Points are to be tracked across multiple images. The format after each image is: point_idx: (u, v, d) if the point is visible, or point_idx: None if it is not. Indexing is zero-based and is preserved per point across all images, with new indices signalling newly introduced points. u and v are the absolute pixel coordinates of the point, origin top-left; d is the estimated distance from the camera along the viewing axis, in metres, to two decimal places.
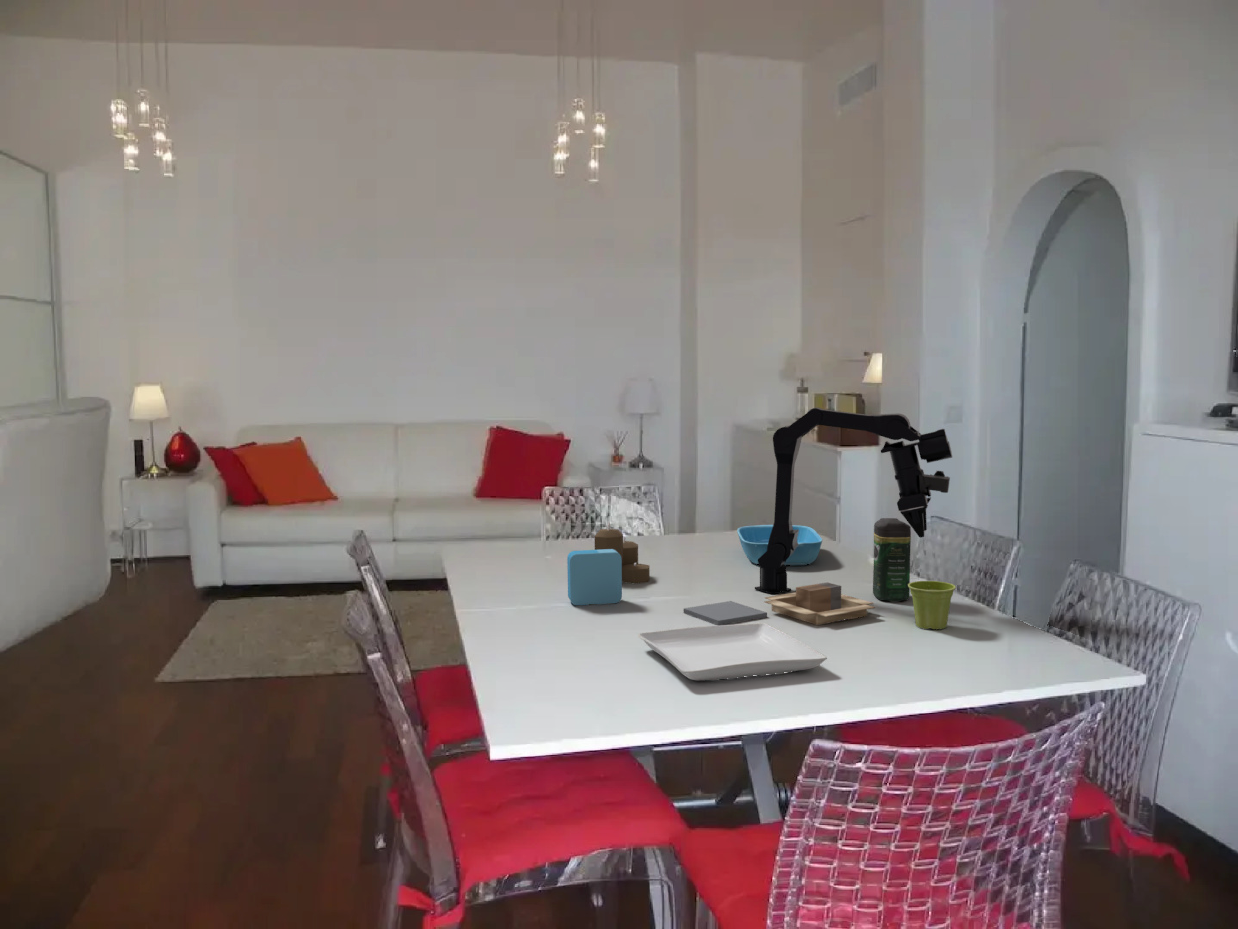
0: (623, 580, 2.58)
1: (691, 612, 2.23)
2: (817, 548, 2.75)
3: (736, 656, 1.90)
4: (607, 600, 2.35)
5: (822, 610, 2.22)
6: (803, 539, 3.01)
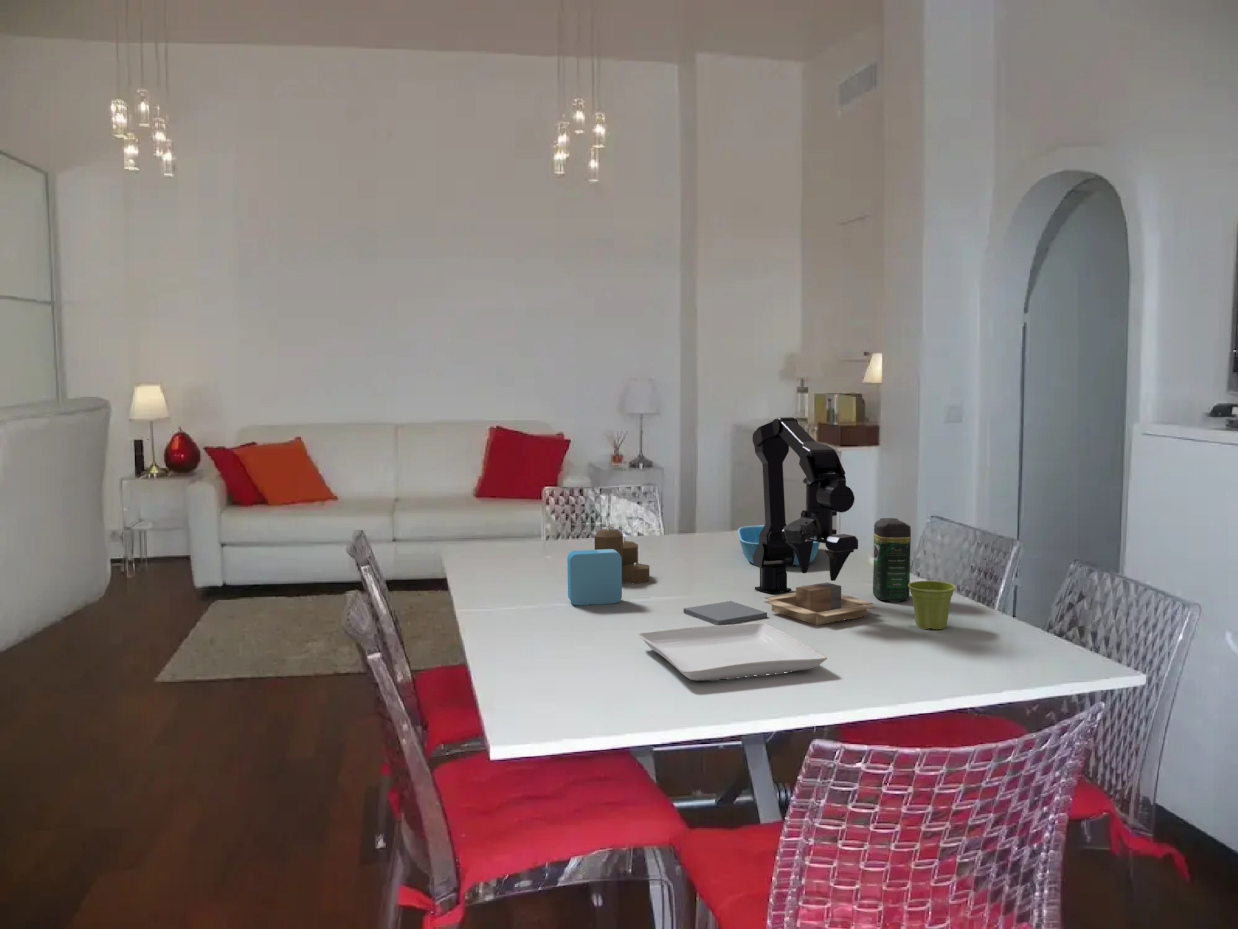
0: (623, 580, 2.58)
1: (691, 612, 2.23)
2: (815, 548, 2.75)
3: (736, 656, 1.90)
4: (607, 600, 2.35)
5: (822, 610, 2.22)
6: None
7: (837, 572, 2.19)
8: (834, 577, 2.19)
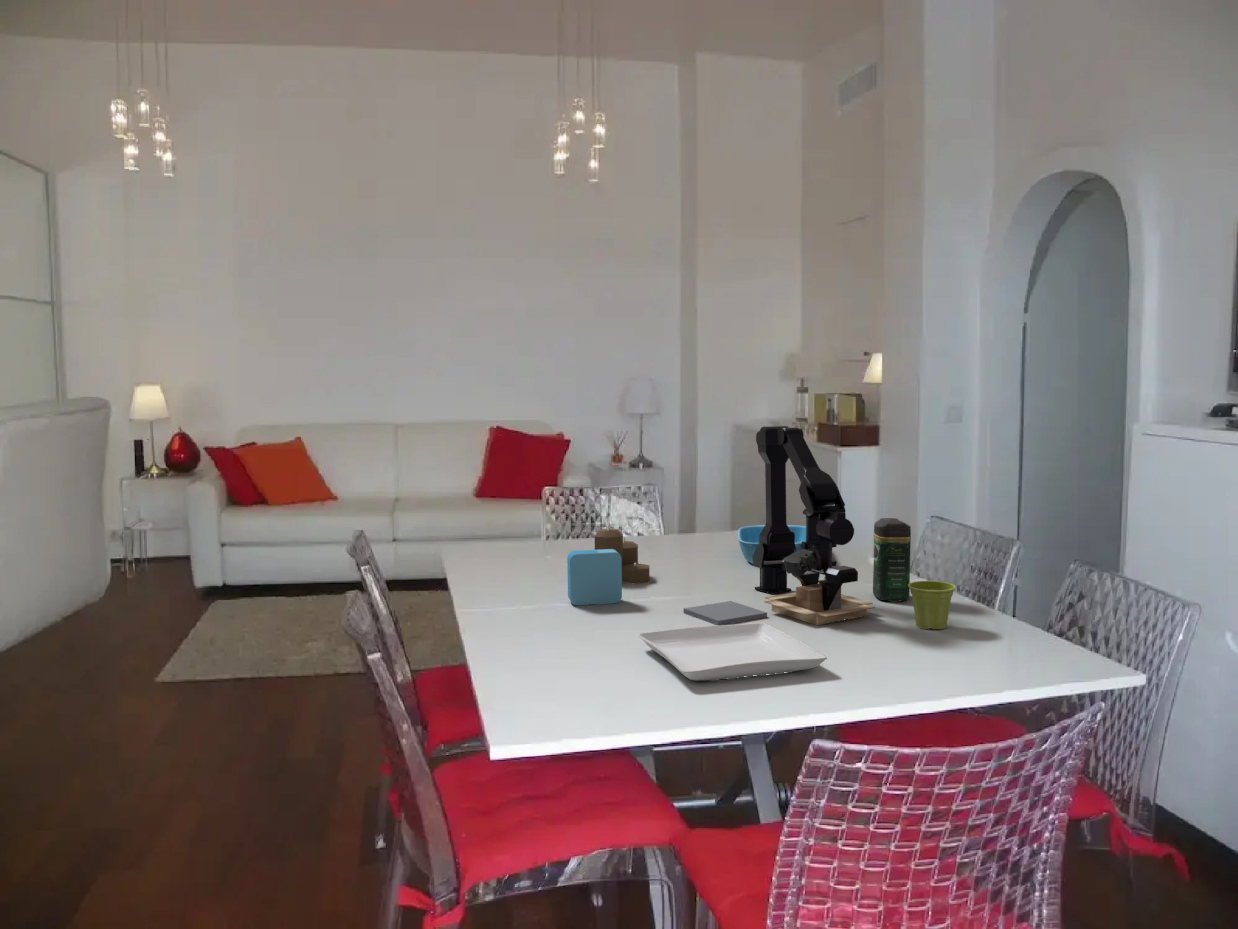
0: (623, 580, 2.58)
1: (691, 612, 2.23)
2: None
3: (736, 656, 1.90)
4: (607, 600, 2.35)
5: (822, 609, 2.22)
6: (805, 539, 3.00)
7: (830, 602, 2.22)
8: (827, 607, 2.22)
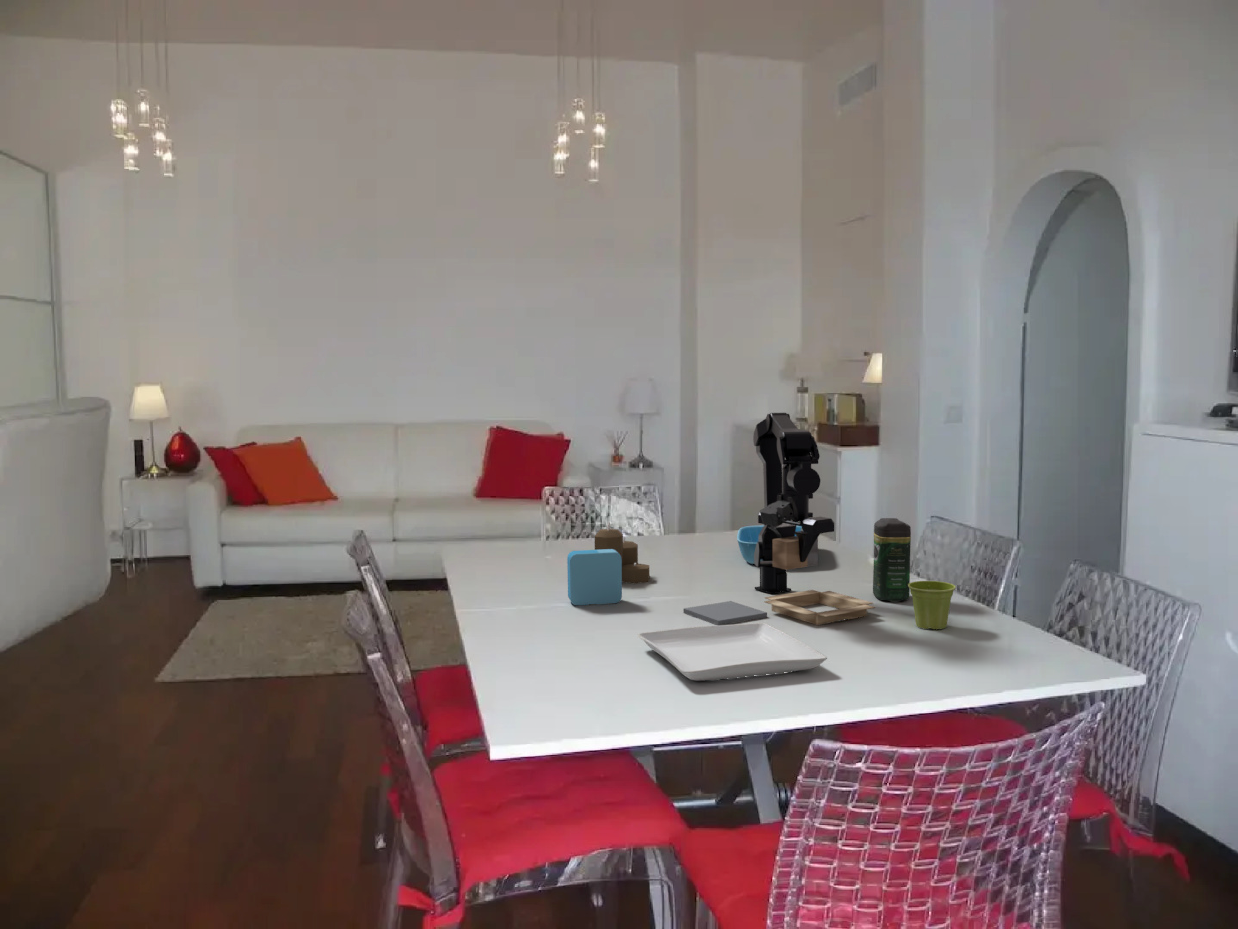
0: (623, 580, 2.58)
1: (691, 612, 2.23)
2: None
3: (736, 656, 1.90)
4: (607, 600, 2.35)
5: (799, 561, 2.20)
6: None
7: (807, 553, 2.20)
8: (804, 558, 2.20)
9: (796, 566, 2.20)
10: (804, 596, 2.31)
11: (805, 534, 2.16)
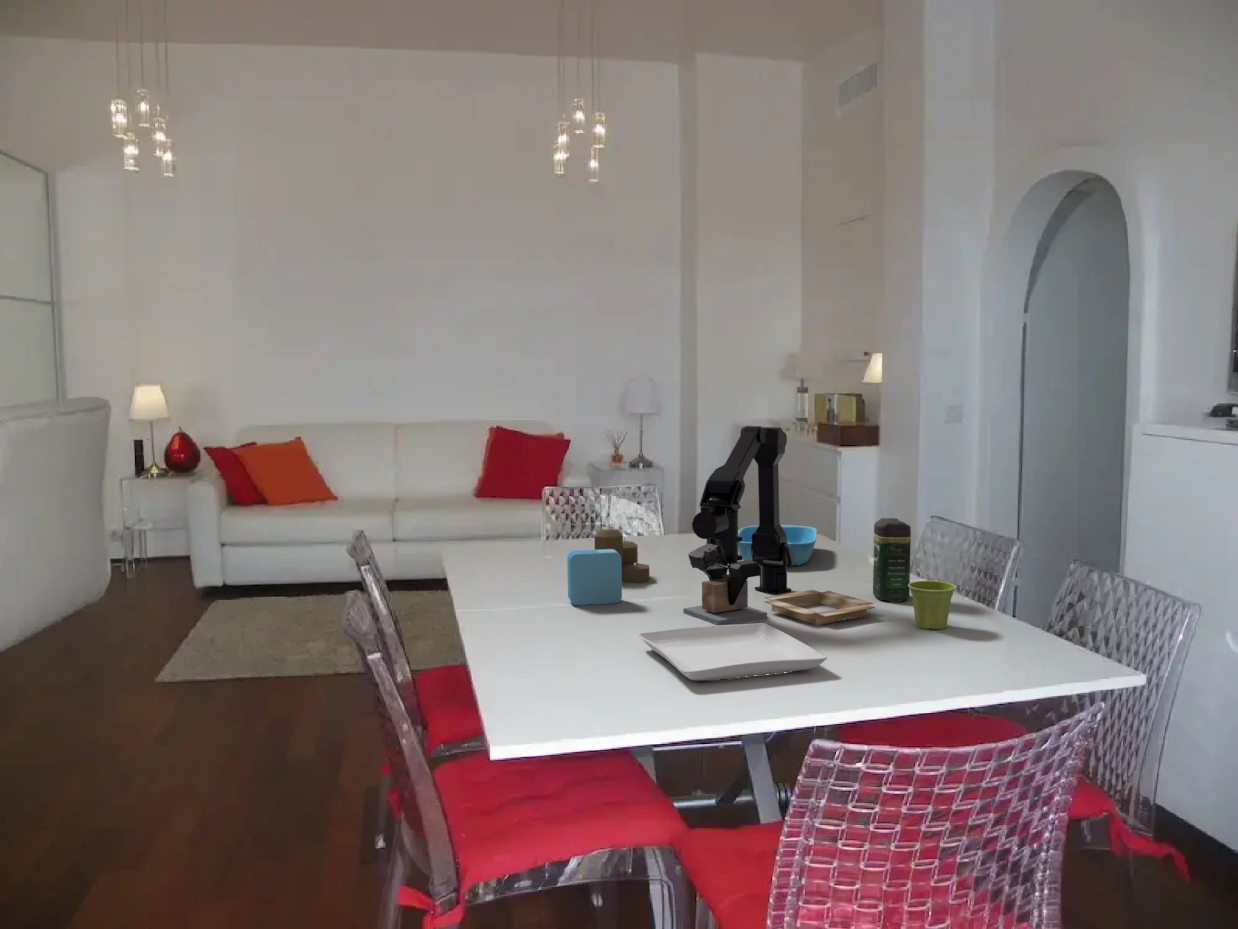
0: (623, 580, 2.58)
1: (691, 612, 2.23)
2: (807, 549, 2.74)
3: (736, 656, 1.90)
4: (607, 600, 2.35)
5: (727, 604, 2.21)
6: (808, 540, 2.99)
7: (735, 596, 2.21)
8: (732, 601, 2.21)
9: (725, 609, 2.21)
10: (804, 596, 2.31)
11: (732, 578, 2.17)
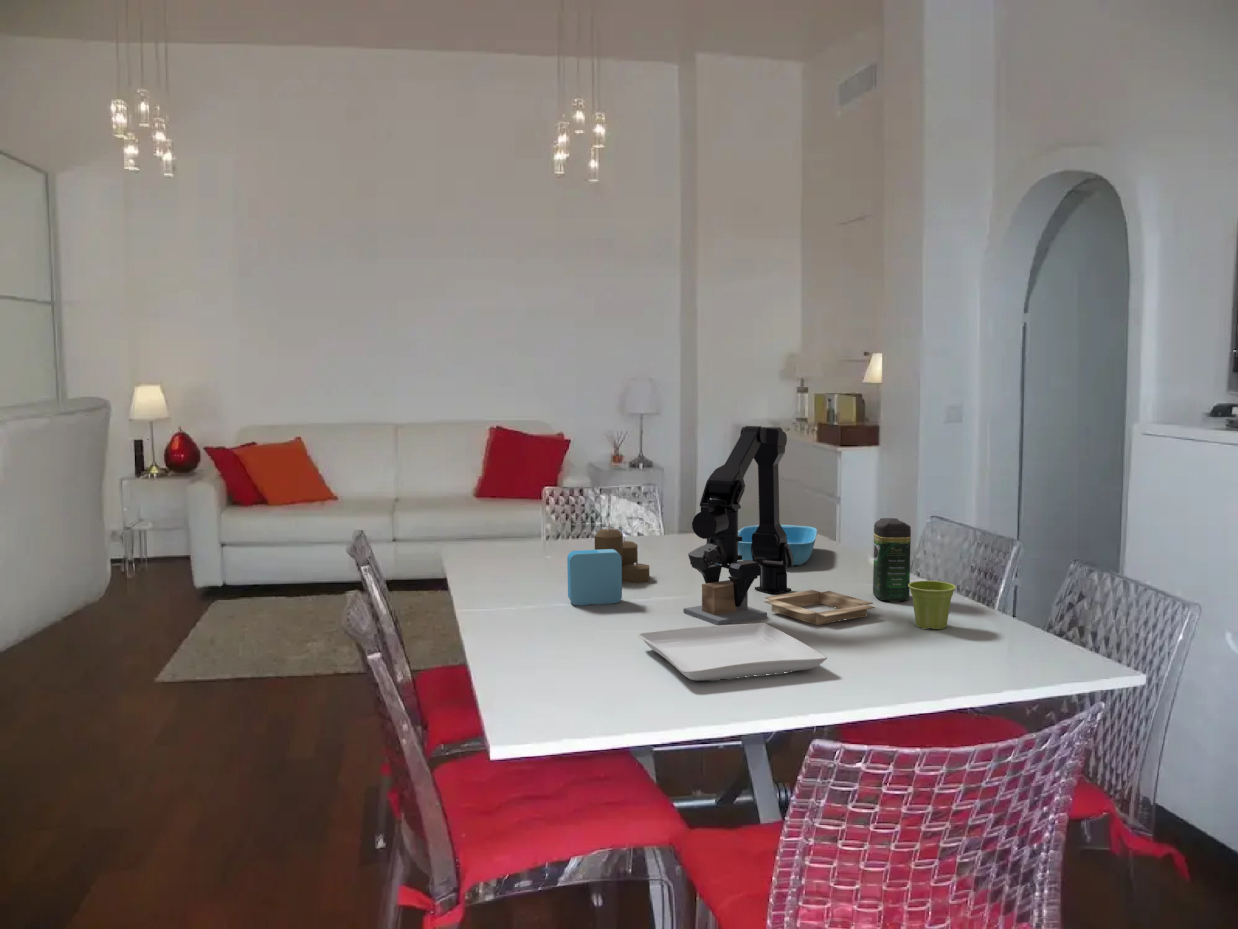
0: (623, 580, 2.58)
1: (691, 612, 2.23)
2: (806, 549, 2.74)
3: (736, 656, 1.90)
4: (607, 600, 2.35)
5: (727, 606, 2.21)
6: (808, 540, 2.99)
7: (741, 598, 2.19)
8: (739, 603, 2.19)
9: (724, 611, 2.21)
10: (804, 596, 2.31)
11: (738, 579, 2.15)
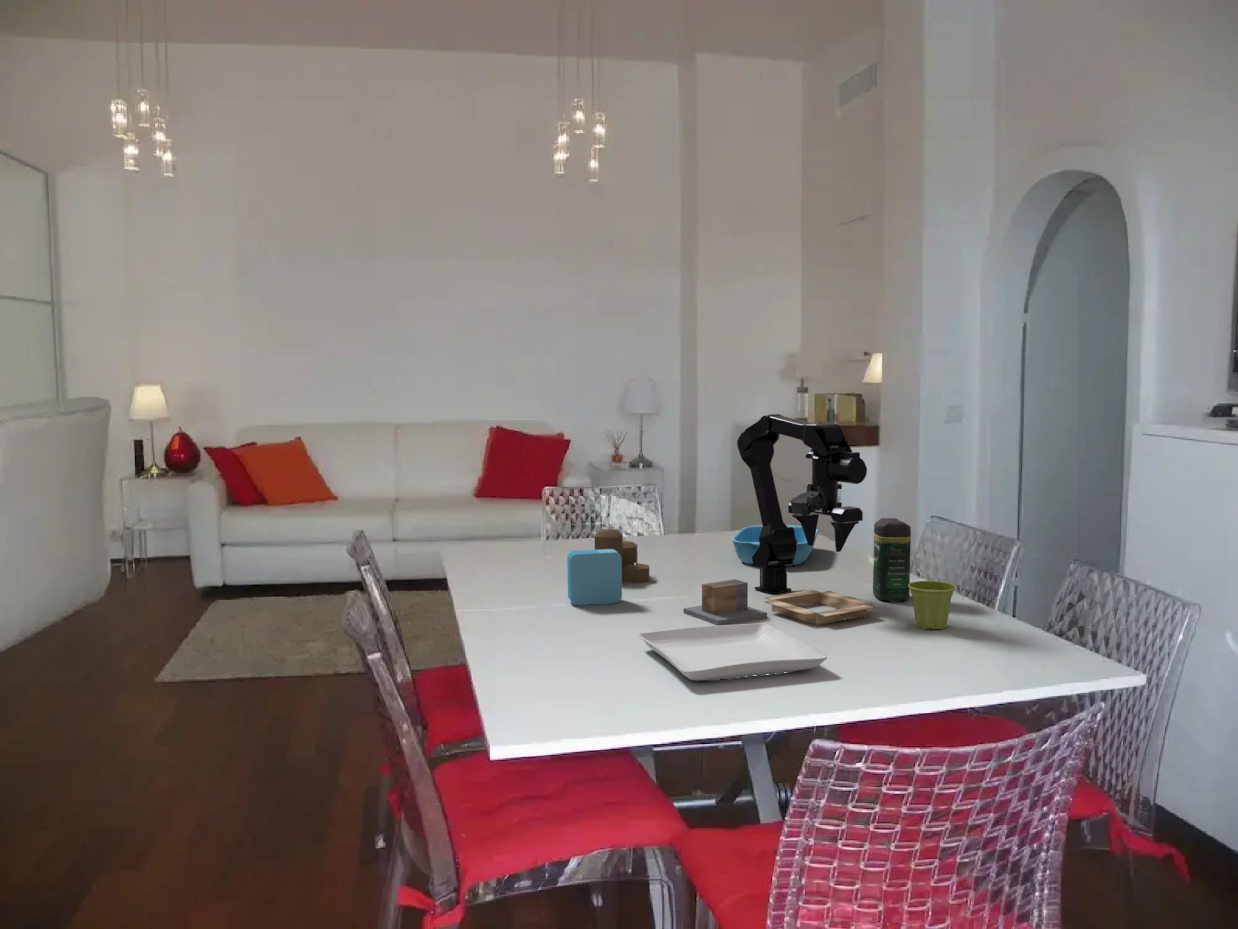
0: (623, 580, 2.58)
1: (691, 612, 2.23)
2: (803, 549, 2.74)
3: (736, 656, 1.90)
4: (607, 600, 2.35)
5: (727, 606, 2.21)
6: None
7: (842, 543, 2.26)
8: (839, 548, 2.26)
9: (724, 611, 2.21)
10: (804, 596, 2.31)
11: (841, 524, 2.22)
